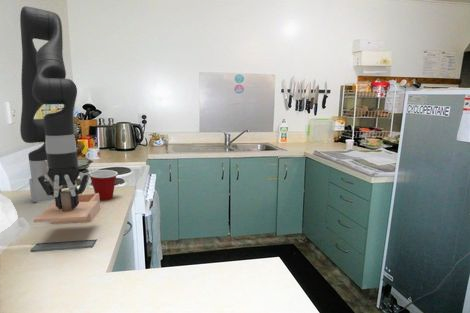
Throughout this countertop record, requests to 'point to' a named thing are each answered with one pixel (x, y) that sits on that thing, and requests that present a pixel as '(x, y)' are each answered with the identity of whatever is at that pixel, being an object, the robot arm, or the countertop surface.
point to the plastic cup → (103, 183)
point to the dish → (92, 214)
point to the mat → (63, 245)
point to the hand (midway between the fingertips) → (67, 207)
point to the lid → (66, 210)
